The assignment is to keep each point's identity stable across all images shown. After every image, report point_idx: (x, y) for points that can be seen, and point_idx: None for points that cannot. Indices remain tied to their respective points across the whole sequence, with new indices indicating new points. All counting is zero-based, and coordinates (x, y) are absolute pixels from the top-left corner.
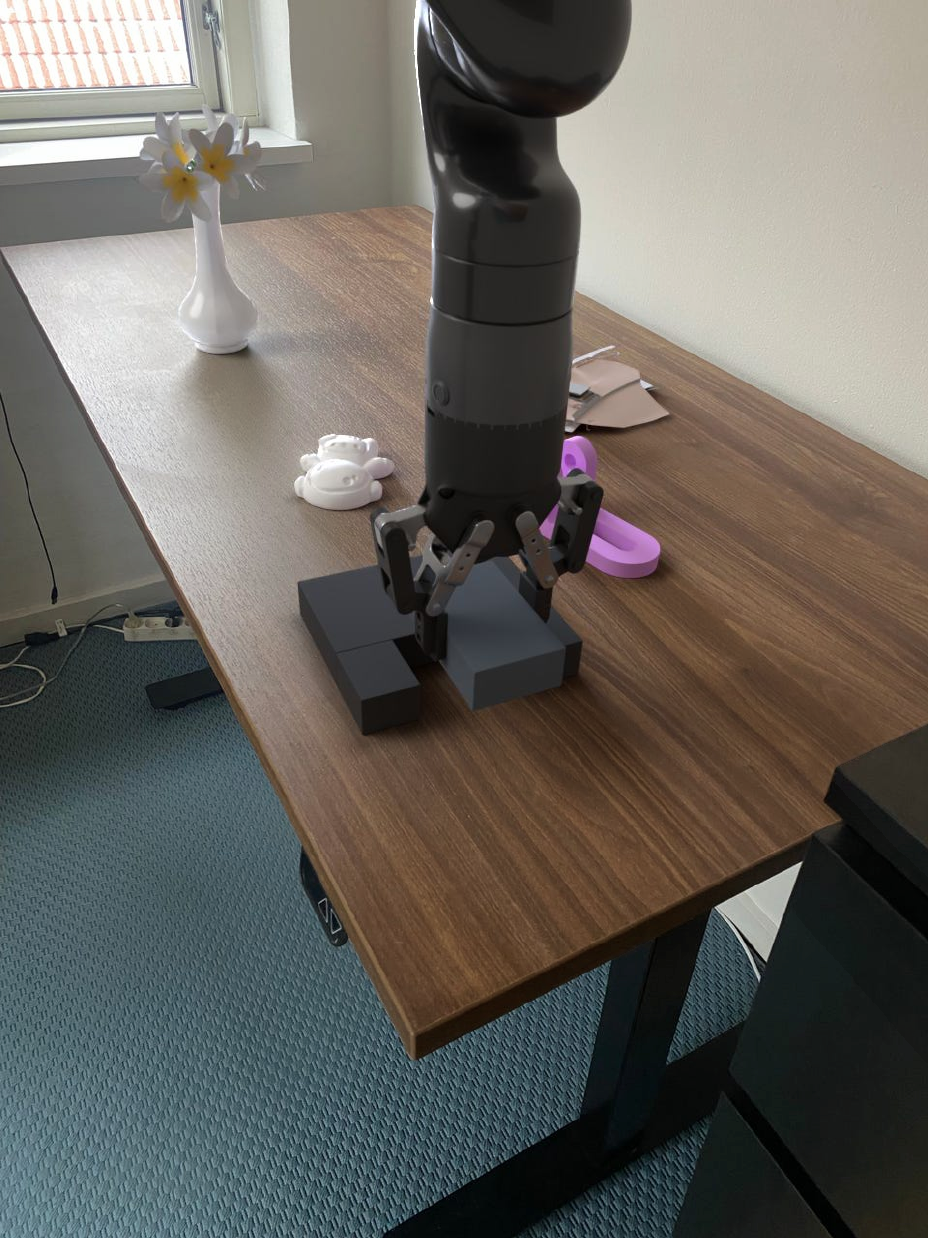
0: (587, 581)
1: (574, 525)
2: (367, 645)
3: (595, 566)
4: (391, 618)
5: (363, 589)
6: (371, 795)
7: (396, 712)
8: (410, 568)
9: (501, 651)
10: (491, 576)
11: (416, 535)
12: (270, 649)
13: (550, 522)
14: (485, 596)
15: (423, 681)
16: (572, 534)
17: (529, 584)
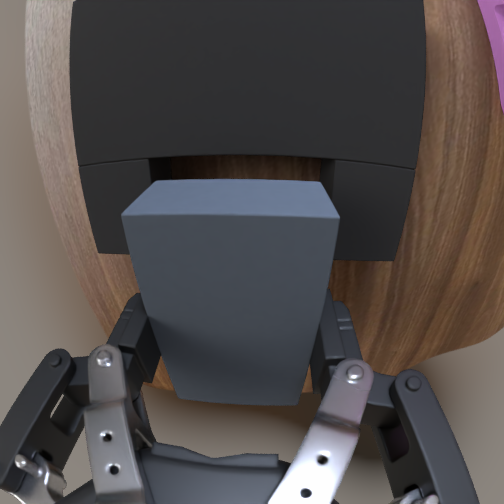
0: (482, 101)
1: (395, 481)
2: (114, 160)
3: (499, 88)
4: (161, 108)
5: (146, 23)
6: (121, 288)
7: None
8: (69, 454)
9: (220, 392)
10: (301, 270)
11: (62, 489)
12: (60, 71)
13: (495, 9)
14: (254, 316)
15: (201, 171)
16: (390, 467)
17: (317, 378)
